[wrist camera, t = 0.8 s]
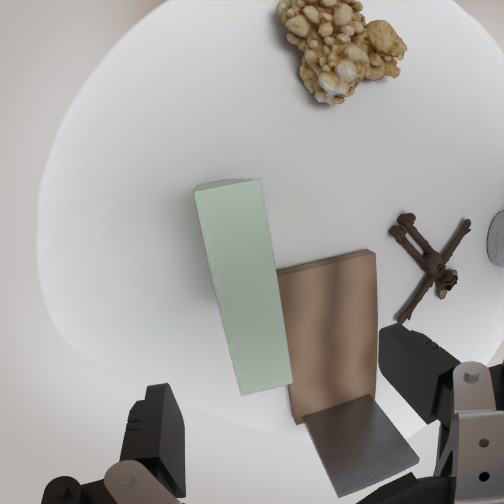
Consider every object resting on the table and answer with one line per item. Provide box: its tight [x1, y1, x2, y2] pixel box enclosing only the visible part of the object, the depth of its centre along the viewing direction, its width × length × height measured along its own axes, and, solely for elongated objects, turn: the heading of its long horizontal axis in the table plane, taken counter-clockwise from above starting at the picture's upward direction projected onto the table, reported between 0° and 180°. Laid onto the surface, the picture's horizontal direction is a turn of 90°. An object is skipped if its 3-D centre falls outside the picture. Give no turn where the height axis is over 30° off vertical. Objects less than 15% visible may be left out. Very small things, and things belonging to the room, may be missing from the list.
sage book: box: [194, 179, 293, 396], centre depth 25 cm, size 4×13×16 cm, turn 10°
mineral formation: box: [276, 0, 407, 104], centre depth 26 cm, size 8×13×15 cm
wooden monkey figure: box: [389, 213, 471, 324], centre depth 36 cm, size 18×4×14 cm
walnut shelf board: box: [276, 249, 378, 425], centre depth 37 cm, size 12×22×2 cm, turn 10°
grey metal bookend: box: [302, 394, 420, 498], centre depth 32 cm, size 10×1×14 cm, turn 100°
